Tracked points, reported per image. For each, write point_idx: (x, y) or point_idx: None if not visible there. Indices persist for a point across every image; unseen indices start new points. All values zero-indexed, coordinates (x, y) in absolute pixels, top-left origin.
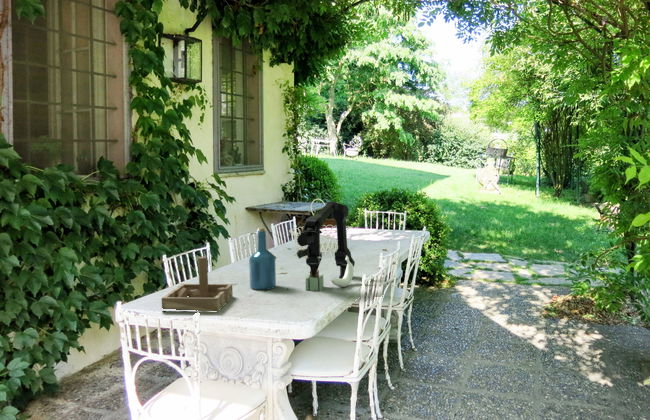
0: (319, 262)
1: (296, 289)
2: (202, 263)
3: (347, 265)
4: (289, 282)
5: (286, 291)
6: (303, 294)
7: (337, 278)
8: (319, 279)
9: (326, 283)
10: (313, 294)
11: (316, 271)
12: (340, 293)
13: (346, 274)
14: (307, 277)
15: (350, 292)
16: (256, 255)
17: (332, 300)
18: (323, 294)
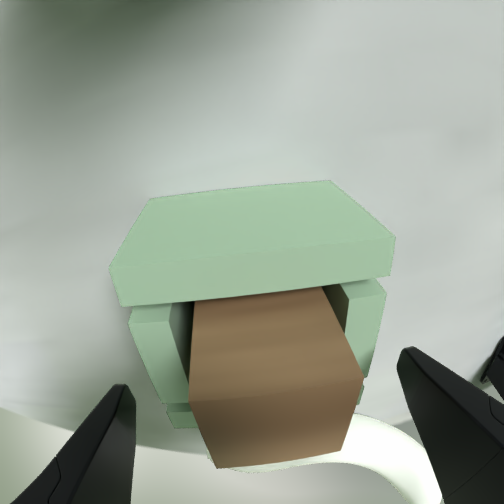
0: (447, 499)
1: (181, 81)
2: None
3: (422, 498)
4: (473, 2)
5: (79, 14)
6: (12, 220)
7: (251, 472)
8: (167, 403)
9: (428, 310)
10: (43, 297)
11: (213, 459)
12: (141, 424)
13: (378, 466)
14: (181, 284)
15: (180, 450)
16: None
17: (3, 392)
18: (74, 356)
